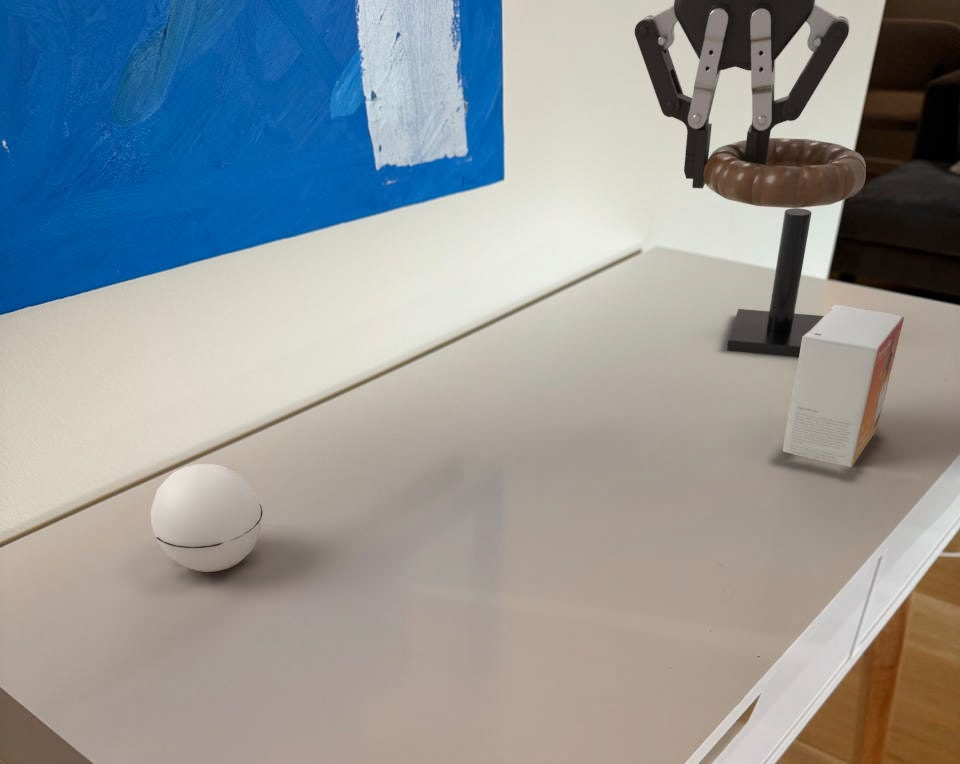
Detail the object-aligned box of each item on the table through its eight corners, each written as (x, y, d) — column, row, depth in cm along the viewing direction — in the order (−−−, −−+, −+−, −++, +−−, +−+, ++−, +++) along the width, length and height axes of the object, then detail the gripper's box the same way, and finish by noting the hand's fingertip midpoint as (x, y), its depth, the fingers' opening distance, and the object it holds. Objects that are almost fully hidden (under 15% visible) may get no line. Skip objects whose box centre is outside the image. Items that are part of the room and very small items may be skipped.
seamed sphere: (140, 579, 69) (114, 484, 65) (207, 527, 75) (187, 436, 70) (260, 613, 66) (241, 516, 61) (321, 556, 71) (308, 463, 67)
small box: (848, 481, 78) (878, 349, 71) (778, 464, 80) (801, 335, 74) (876, 440, 83) (907, 314, 77) (809, 425, 86) (833, 302, 79)
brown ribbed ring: (861, 175, 71) (869, 137, 69) (861, 216, 63) (869, 175, 62) (712, 168, 73) (716, 132, 72) (693, 207, 66) (697, 167, 64)
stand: (825, 327, 103) (850, 201, 96) (821, 361, 96) (847, 228, 89) (736, 319, 105) (753, 196, 98) (726, 352, 99) (743, 222, 91)
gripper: (627, -125, 57) (612, 196, 68) (885, -133, 54) (827, 206, 65) (649, -128, 63) (631, 169, 74) (884, -135, 60) (830, 177, 70)
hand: (723, 185), depth 69 cm, fingers closed on brown ribbed ring, 2 cm apart
